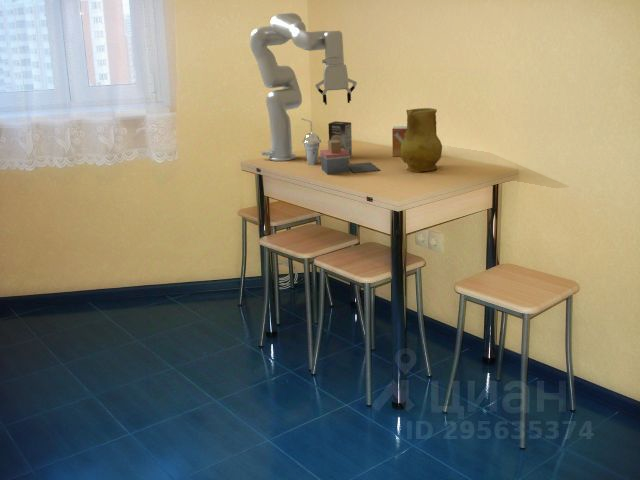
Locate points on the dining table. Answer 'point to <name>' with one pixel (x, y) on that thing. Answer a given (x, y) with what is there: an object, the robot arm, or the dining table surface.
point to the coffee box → (341, 134)
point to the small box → (398, 139)
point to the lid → (334, 150)
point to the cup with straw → (311, 146)
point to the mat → (363, 167)
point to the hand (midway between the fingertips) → (337, 103)
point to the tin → (335, 165)
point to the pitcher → (421, 140)
